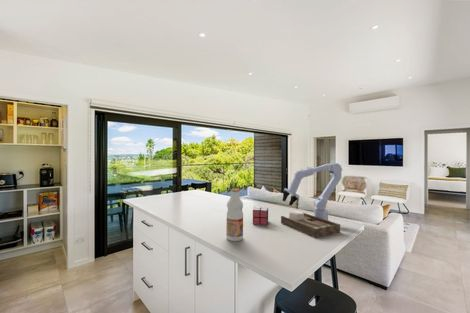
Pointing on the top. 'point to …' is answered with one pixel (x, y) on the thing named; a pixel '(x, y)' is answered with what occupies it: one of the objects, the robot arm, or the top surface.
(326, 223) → the trap box
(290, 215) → the cream block
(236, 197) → the fruit juice
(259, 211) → the puzzle cube
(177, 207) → the top surface
